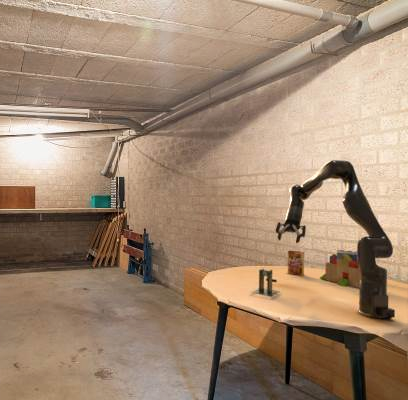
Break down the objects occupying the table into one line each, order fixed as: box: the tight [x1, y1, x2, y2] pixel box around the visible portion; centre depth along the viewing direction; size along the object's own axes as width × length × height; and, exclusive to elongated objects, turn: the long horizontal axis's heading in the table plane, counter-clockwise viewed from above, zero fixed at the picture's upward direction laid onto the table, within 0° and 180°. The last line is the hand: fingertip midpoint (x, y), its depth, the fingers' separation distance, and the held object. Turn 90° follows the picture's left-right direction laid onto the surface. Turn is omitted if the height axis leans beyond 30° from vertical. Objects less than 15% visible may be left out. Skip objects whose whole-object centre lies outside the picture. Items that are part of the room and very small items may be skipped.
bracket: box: [250, 268, 281, 298], centre depth 174 cm, size 13×10×13 cm
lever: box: [262, 269, 278, 283], centre depth 177 cm, size 12×5×2 cm, turn 137°
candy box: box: [287, 249, 305, 276], centre depth 224 cm, size 9×4×15 cm, turn 43°
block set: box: [319, 252, 360, 289], centre depth 200 cm, size 28×14×19 cm, turn 21°
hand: (287, 241), depth 185 cm, fingers open, 8 cm apart
